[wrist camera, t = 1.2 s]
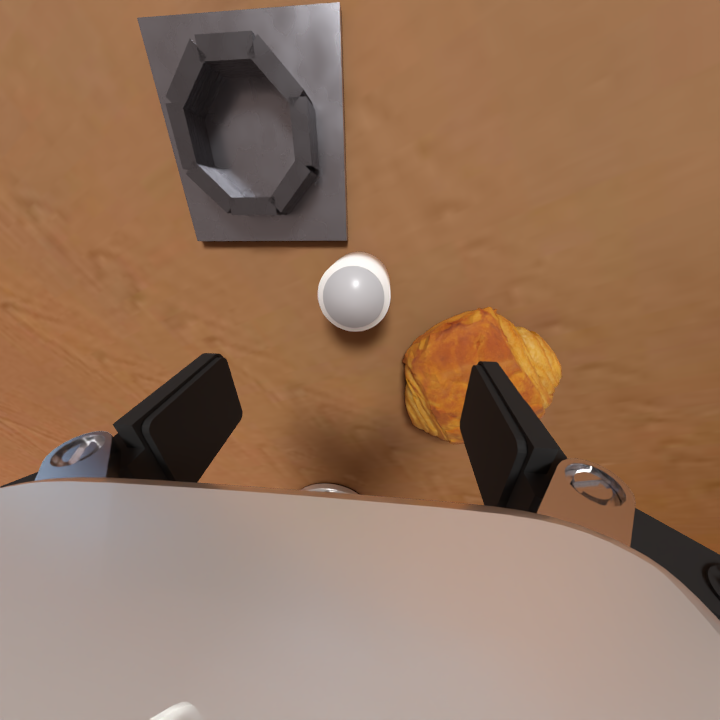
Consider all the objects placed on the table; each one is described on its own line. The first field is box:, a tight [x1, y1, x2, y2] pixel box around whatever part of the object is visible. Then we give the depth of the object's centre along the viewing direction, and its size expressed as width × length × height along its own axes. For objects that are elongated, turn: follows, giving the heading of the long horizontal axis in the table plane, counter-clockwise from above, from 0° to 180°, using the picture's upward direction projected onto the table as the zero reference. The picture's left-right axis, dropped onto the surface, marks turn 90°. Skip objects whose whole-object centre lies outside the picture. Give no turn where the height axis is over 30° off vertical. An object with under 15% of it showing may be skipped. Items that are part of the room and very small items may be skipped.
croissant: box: [402, 307, 562, 444], centre depth 27 cm, size 14×16×8 cm
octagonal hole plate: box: [137, 2, 348, 241], centre depth 20 cm, size 14×14×3 cm
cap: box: [318, 252, 391, 332], centre depth 24 cm, size 6×6×5 cm
